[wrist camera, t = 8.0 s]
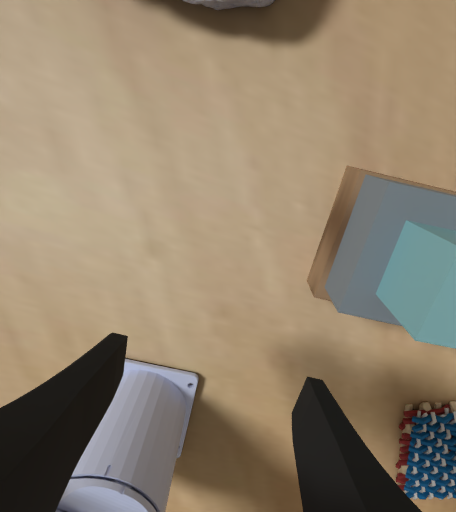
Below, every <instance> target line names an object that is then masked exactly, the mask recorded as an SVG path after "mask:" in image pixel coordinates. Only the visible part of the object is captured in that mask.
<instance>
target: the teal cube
mask: <svg viewBox="0 0 456 512" xmlns="http://www.w3.org/2000/svg"><path fill="white" fill-rule="evenodd" d="M376 295H377V296H378V298H379V299H380V300H381V301H382V302H383V303H384V305H385V306H386V307H387V308H388V309H389V310H390V312H391V313H392V314H393V315H394V316H395V318H396V319H397V320H398V321H399V322H400V323H401V325H402V326H403V327H404V328H405V329H406V330H407V332H408V333H409V334H410V335H411V336H412V337H413V339H414V340H415V341H420V342H425V343H430V344H435V345H440V346H445V347H450V348H455V349H456V231H455V230H450V229H445V228H440V227H436V226H431V225H426V224H421V223H417V222H412V221H407V220H406V222H405V224H404V227H403V229H402V232H401V234H400V236H399V239H398V241H397V244H396V246H395V248H394V251H393V253H392V256H391V258H390V260H389V263H388V265H387V268H386V270H385V273H384V275H383V277H382V280H381V282H380V285H379V287H378V289H377V292H376Z"/></svg>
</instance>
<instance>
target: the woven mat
mask: <svg viewBox="0 0 456 512" xmlns="http://www.w3.org/2000/svg"><path fill="white" fill-rule="evenodd" d="M441 407H442V403H435V405H434V409H431V407H430V405H429V403H428V402H422V403H421V404H420V405H419V410H413V404H406V405H405V411H404V418H403V422H402V423H401V424H400V425H399V428H400V429H401V430H403V433H402V436H401V437H402V439H399V443H400V444H401V447H400V451H401V452H400V454H399V457H400V459H399V462H398V463H397V464H396V467H397V468H398V469H399V472H398V473H397V476H398V477H396V482H398V486H399V487H400V489H401V490H402V491H405V493H406V495H407V496H408V497H409V499H410V498H413V499H414V500H415V499H418V498H419V499H426V498H427V497H429V499H432V498H434V497H437V498H439V499H440V500H443V499H444V498H445V497H446V496H447V495H448V496H447V498H448V499H450V498H452V497H453V498H456V401H451V402H449V404H446V405H445V406H443V407H442V408H441ZM441 414H445V415H441ZM451 436H452V437H451ZM427 437H428V438H427ZM425 438H426V439H425ZM410 451H411V452H410ZM408 452H410V453H408ZM434 457H435V458H434ZM437 490H439V491H438V492H437ZM422 492H423V493H422ZM428 495H430V496H428Z"/></svg>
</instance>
